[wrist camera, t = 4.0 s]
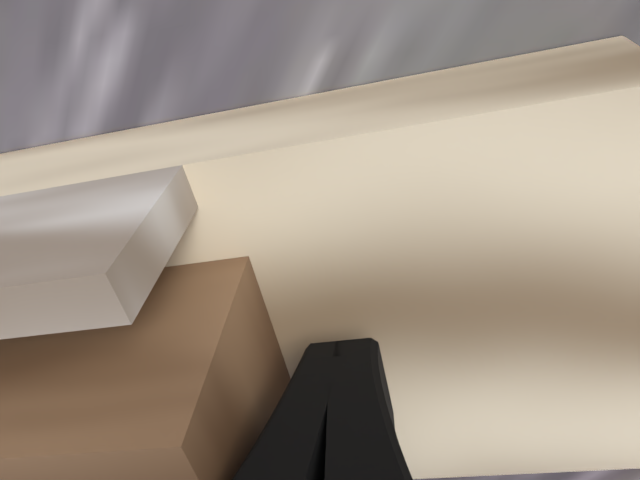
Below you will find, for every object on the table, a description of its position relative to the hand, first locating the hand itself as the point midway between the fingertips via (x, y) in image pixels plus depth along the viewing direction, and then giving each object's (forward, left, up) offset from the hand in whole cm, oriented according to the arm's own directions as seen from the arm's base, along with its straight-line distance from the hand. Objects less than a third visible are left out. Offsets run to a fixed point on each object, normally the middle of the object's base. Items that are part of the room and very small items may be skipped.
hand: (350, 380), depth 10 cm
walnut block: (0, +4, -1) cm, 4 cm away
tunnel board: (0, +7, -3) cm, 8 cm away
